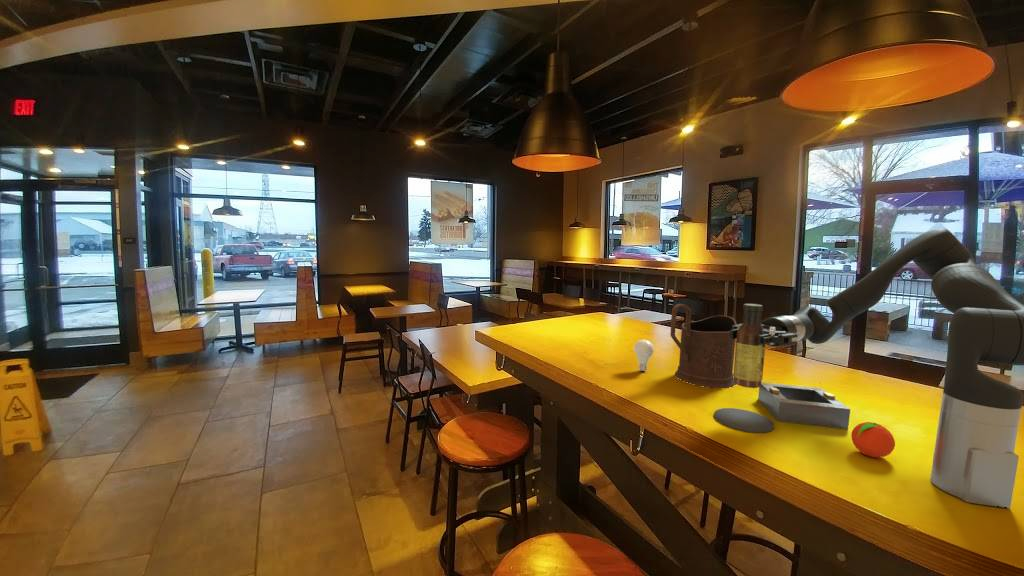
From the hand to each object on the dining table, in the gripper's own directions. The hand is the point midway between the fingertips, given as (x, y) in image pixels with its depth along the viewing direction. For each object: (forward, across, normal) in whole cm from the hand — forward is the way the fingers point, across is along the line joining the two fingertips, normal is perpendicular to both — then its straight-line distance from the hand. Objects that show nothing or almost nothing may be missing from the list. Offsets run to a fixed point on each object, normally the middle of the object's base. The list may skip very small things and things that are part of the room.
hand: (745, 337), depth 99 cm
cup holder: (-20, -25, +22) cm, 39 cm away
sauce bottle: (-2, 0, +12) cm, 13 cm away
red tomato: (-9, +23, +22) cm, 33 cm away
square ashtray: (-21, +4, +22) cm, 30 cm away
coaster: (-2, 0, +21) cm, 22 cm away
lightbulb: (-11, -40, +22) cm, 46 cm away
